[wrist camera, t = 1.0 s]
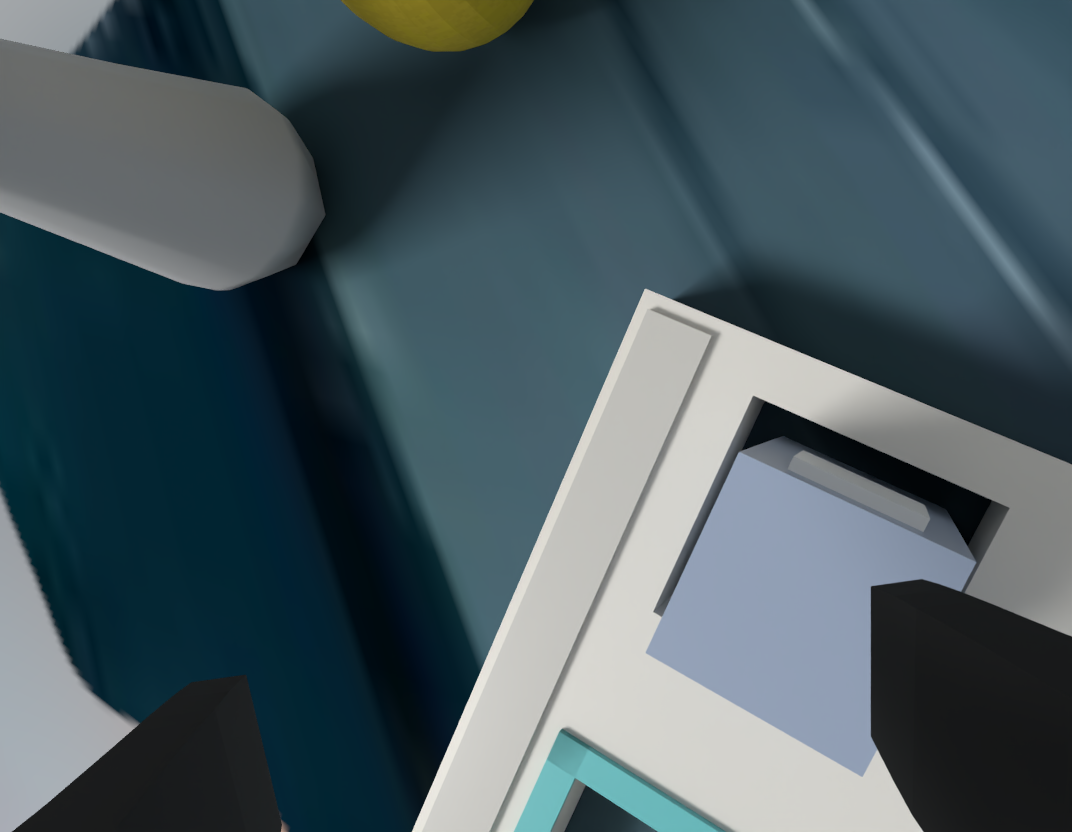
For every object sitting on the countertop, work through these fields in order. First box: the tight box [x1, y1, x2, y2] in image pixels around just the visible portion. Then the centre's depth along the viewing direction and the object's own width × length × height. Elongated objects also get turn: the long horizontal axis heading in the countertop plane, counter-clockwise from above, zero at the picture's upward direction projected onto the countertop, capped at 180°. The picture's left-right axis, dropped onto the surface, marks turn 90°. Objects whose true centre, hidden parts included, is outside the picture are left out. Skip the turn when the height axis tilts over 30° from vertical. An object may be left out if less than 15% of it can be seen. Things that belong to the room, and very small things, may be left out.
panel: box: [412, 289, 1072, 832], centre depth 20 cm, size 12×18×3 cm, turn 156°
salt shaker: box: [0, 39, 326, 290], centre depth 21 cm, size 6×6×13 cm
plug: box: [646, 436, 976, 777], centre depth 18 cm, size 4×4×7 cm
